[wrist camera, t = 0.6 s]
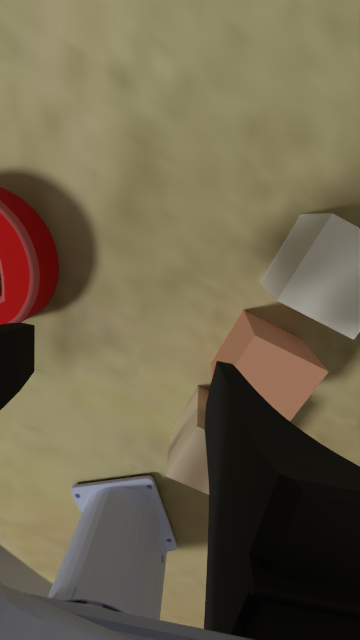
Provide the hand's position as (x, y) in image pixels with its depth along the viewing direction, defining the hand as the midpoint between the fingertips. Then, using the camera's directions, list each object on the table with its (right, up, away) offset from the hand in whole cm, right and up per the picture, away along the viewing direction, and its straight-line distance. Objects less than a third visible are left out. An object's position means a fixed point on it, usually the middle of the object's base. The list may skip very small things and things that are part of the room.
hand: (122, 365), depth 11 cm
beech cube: (+5, -6, +13) cm, 15 cm away
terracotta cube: (+8, -1, +10) cm, 13 cm away
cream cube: (+11, +5, +8) cm, 14 cm away
